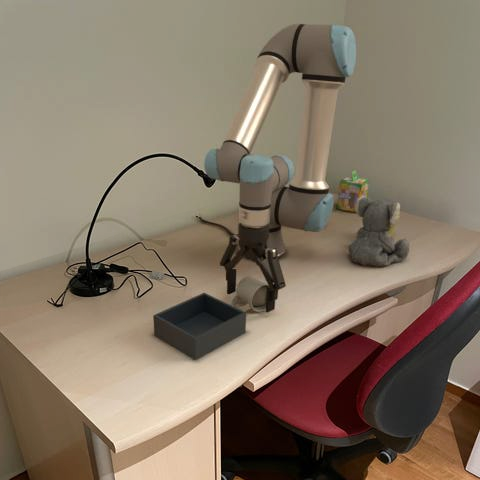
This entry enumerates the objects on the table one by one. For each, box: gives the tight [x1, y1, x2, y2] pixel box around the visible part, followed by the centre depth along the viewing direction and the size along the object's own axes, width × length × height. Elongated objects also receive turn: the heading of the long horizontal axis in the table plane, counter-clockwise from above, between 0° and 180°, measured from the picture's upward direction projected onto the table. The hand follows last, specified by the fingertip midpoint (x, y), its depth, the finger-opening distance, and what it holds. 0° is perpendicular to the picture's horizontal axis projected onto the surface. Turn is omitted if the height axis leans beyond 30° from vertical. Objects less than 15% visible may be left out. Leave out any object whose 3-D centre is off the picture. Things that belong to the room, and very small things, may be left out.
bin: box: [152, 292, 247, 361], centre depth 123 cm, size 14×16×6 cm
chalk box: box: [336, 169, 370, 213], centre depth 205 cm, size 9×9×15 cm
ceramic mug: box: [229, 275, 269, 313], centre depth 134 cm, size 11×8×8 cm
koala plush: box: [347, 196, 410, 267], centre depth 161 cm, size 17×18×20 cm
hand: (250, 301), depth 135 cm, fingers open, 13 cm apart
